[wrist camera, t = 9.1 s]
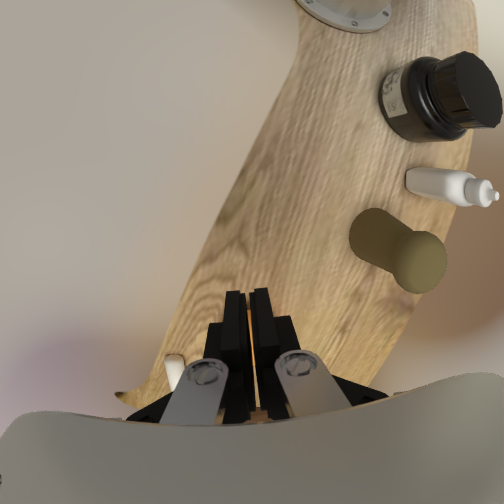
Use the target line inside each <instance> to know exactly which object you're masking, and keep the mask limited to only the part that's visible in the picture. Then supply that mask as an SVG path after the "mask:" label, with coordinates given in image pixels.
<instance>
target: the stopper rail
mask: <svg viewBox="0 0 504 504" xmlns="http://www.w3.org/2000/svg"><path fill="white" fill-rule="evenodd" d="M265 421H274V420H272V419H271V418H268V415H267V410H265V411H261V407H258V408H256V411H255V412H251V420H247V421H246V422H244V423H254V422H265Z"/></svg>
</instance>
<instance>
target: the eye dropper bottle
mask: <svg viewBox="0 0 504 504" xmlns="http://www.w3.org/2000/svg"><path fill="white" fill-rule="evenodd" d="M406 188H407V190H409V191H410V192H412V193H413V194H416V195H418V196H422V197H427V198H431V199H435V200H439V201H443V202H447V203H451V204H454V205H459V206H471V205H473V204H475V205H479V206H482V207H487V206H489V205H490V203H491V202H492V200H498V199H499V193H498V192H496V191H495V190H493V189H492V185H491V183H490V182H489V181H488V180H484V179H478V178H475V177H474V176H473V175H472V174H470V173H468V172H465V171H459V170H450V169H440V168H428V167H416V168H412V169H410V170H408V171H407V173H406Z"/></svg>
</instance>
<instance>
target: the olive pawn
mask: <svg viewBox="0 0 504 504" xmlns="http://www.w3.org/2000/svg"><path fill="white" fill-rule="evenodd" d="M349 241H350V246H351V249H352V250H353V252H354V253H355V255H357V256H358V257H359V258H360V259H362V260H365V261H367V262H369V263H371V264H373V265H375V266H377V267H380V268H382V269H384V270H386V271H388V272H390V273H392V274H393V276H394V278H395V280H396V282H397V283H398V284H399V285H400V286H401V287H402V288H403V289H404V290H406V291H408V292H411V293H414V294H420V293H426V292H428V291H430V290H432V289H433V288H434V287H436V286H437V285H438V284H439V282H440V281H441V279H442V278H443V276H444V273H445V271H446V266H447V253H446V250H445V248H444V245H443V243H442V242H441V241H440V239H439V238H438V237H437V236H435V235H433V234H431V233H429V232H427V231H413V230H412V229H410V228H409V227H408V226H406V225H405V224H403V223H402V222H401V221H399V220H398V219H396V218H395V217H393V216H392V215H390V214H389V213H388V212H386V211H384V210H382V209H379V208H371V209H368V210H365V211H363V212H362V213H361V214H359V215H358V216H357V217H356V219H355V220H354V222H353V223H352V226H351V229H350V234H349Z"/></svg>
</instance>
